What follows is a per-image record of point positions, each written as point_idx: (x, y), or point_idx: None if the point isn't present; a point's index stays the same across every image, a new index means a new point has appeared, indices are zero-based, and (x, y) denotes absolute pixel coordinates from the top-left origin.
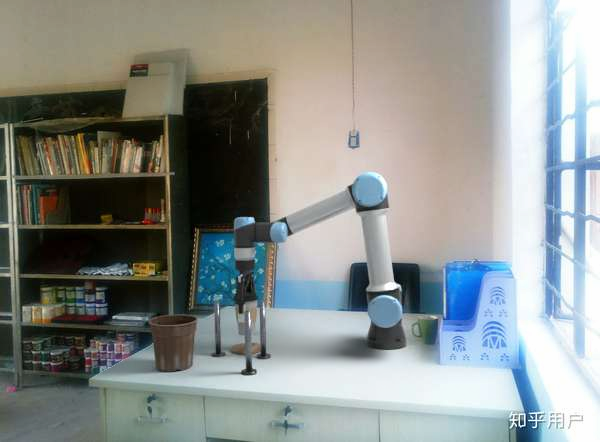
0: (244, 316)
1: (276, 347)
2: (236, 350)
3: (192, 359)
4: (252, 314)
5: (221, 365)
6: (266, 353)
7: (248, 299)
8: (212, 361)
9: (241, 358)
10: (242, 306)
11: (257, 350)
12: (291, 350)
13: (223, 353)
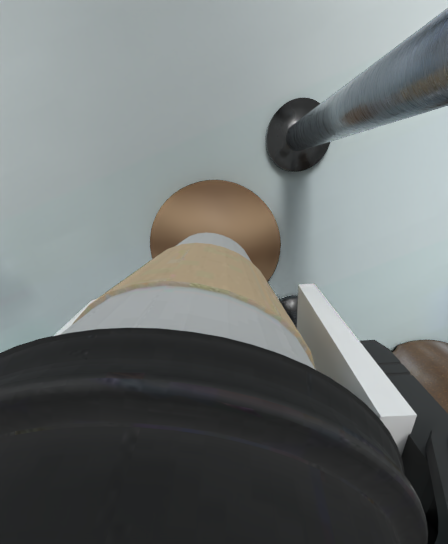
0: (334, 312)
1: (144, 133)
2: (264, 272)
3: (428, 352)
4: (246, 272)
5: (409, 261)
6: (269, 133)
7: (406, 486)
8: (363, 305)
9: (324, 225)
10: (429, 411)
11: (247, 189)
12: (165, 20)
13: (293, 303)
